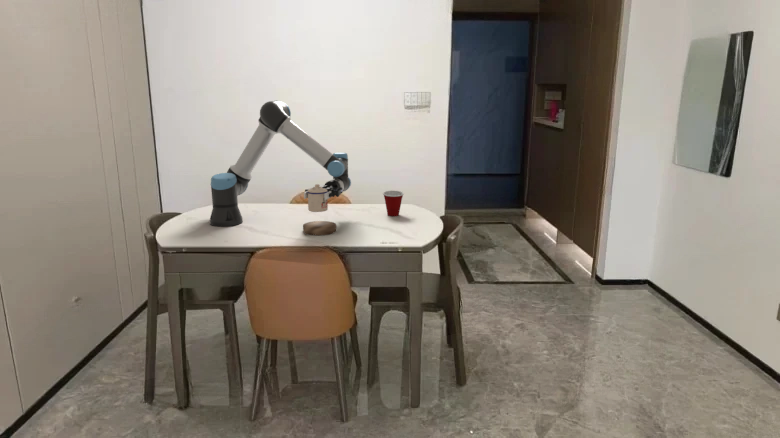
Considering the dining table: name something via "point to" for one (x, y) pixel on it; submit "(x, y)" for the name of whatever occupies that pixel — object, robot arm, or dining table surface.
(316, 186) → the teacup with lid
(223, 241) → the dining table surface
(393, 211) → the plastic cup
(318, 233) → the brown round disc
